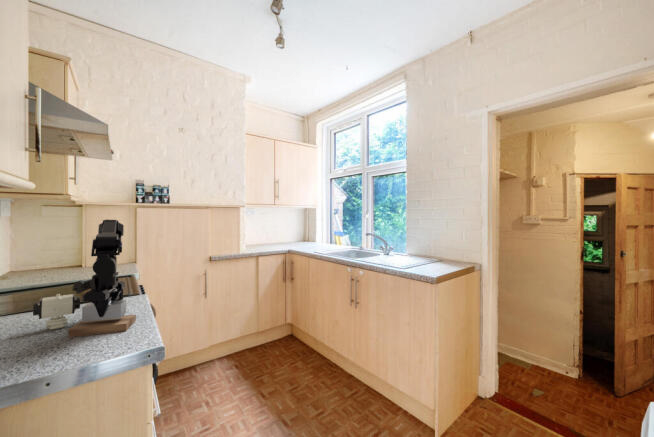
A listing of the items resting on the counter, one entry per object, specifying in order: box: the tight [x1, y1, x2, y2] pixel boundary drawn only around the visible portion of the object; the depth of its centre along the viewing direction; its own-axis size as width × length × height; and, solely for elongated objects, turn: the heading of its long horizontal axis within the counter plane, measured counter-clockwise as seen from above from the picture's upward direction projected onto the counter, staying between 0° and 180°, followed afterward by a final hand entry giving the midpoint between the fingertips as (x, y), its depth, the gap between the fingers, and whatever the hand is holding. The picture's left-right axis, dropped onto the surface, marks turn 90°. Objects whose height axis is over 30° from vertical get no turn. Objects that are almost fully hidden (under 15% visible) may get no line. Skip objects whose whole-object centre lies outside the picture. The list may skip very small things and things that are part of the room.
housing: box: [81, 299, 127, 322], centre depth 95 cm, size 11×5×6 cm, turn 110°
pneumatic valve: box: [32, 293, 81, 330], centre depth 95 cm, size 6×12×12 cm, turn 135°
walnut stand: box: [67, 314, 137, 338], centre depth 95 cm, size 10×16×2 cm, turn 110°
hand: (104, 314), depth 95 cm, fingers closed on housing, 5 cm apart
